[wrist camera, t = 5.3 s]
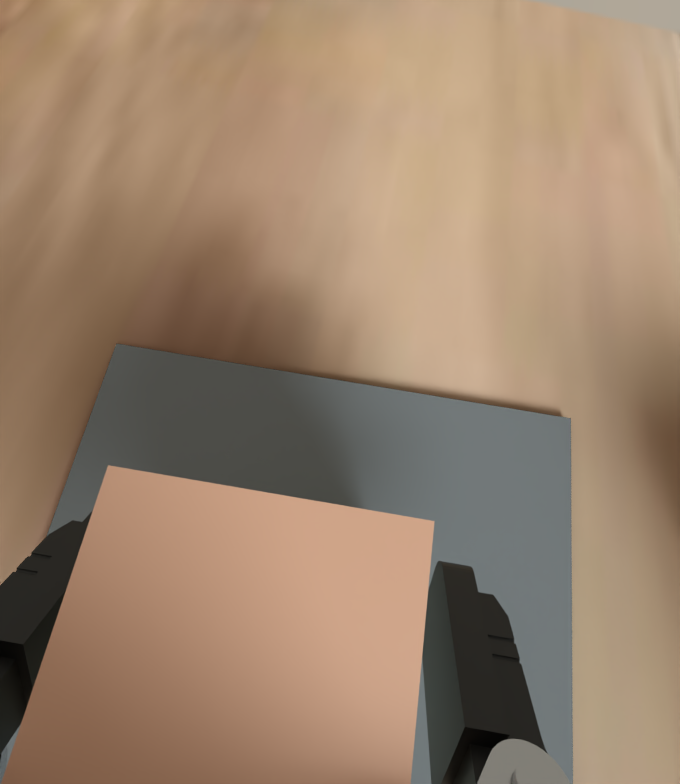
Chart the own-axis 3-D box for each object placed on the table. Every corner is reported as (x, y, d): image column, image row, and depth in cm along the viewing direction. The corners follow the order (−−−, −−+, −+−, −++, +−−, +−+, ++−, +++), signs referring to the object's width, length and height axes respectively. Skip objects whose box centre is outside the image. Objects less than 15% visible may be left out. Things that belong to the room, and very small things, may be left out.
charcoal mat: (565, 421, 18) (570, 418, 17) (566, 1065, 12) (574, 1082, 11) (120, 347, 18) (116, 343, 18) (-91, 935, 12) (-103, 947, 12)
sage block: (373, 544, 15) (434, 521, 7) (350, 721, 14) (394, 972, 5) (224, 518, 16) (108, 465, 7) (182, 690, 14) (-35, 888, 5)
